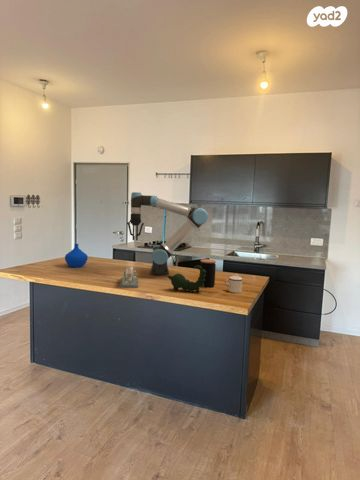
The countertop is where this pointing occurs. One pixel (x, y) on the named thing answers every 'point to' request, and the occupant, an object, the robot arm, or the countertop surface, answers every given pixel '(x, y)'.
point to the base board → (129, 285)
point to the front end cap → (128, 283)
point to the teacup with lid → (234, 284)
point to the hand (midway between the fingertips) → (134, 244)
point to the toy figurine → (185, 284)
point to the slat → (129, 274)
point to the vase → (76, 257)
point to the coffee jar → (209, 272)
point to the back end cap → (132, 276)
